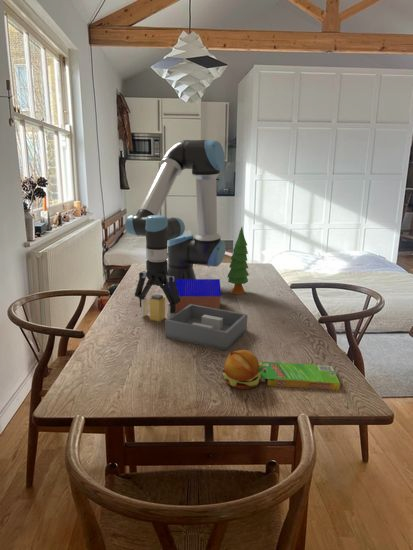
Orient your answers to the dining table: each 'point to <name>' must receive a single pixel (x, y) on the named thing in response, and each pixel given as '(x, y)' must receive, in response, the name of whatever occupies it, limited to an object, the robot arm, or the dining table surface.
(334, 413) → the dining table surface
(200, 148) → the robot arm
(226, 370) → the cheeseburger
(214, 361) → the dining table surface
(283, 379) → the game box
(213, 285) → the house
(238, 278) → the decorative tree
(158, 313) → the yellow jar
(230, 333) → the box
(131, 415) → the dining table surface
